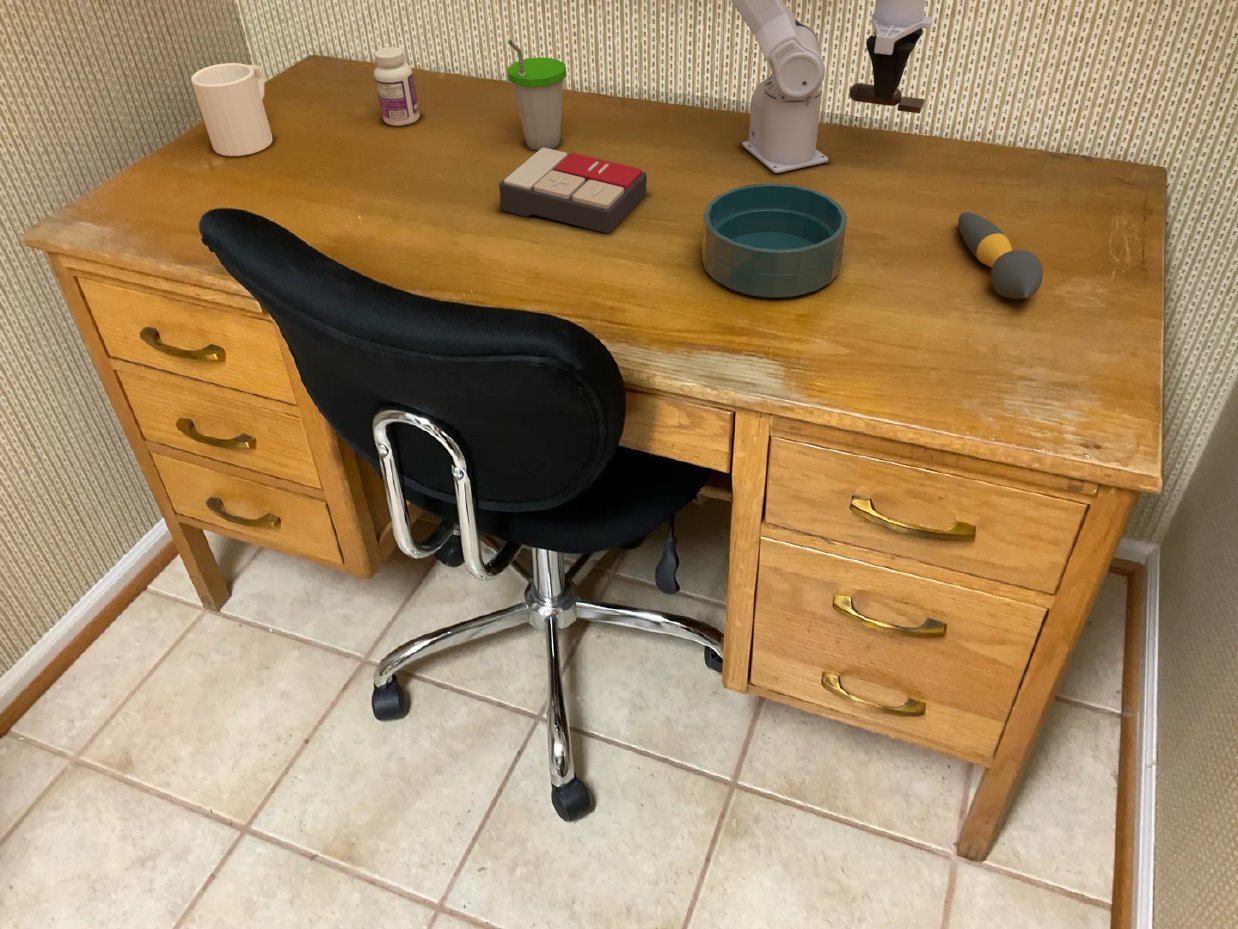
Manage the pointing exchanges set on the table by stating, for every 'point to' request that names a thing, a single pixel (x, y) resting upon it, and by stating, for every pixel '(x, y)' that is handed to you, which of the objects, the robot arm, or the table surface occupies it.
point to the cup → (538, 98)
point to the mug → (233, 107)
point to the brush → (867, 95)
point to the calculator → (573, 189)
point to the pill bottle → (395, 87)
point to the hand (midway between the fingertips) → (885, 93)
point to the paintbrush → (1001, 257)
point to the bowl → (773, 239)
